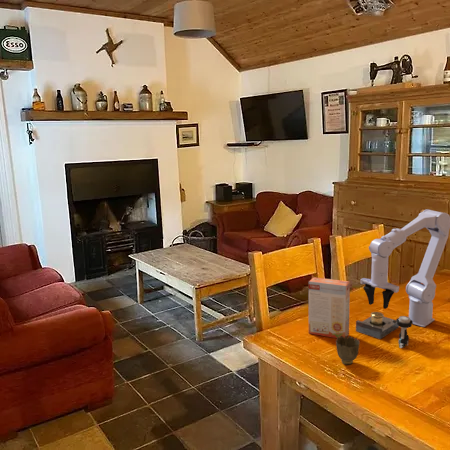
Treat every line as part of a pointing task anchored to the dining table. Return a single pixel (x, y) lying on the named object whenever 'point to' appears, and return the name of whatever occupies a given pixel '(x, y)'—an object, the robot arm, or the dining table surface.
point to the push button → (403, 330)
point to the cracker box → (329, 307)
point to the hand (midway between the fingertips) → (378, 305)
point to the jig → (376, 327)
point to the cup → (347, 349)
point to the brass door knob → (377, 318)
